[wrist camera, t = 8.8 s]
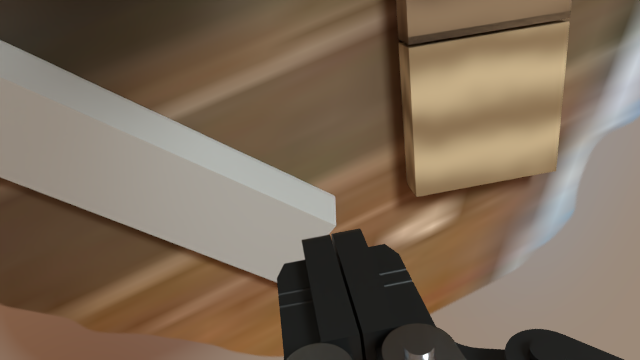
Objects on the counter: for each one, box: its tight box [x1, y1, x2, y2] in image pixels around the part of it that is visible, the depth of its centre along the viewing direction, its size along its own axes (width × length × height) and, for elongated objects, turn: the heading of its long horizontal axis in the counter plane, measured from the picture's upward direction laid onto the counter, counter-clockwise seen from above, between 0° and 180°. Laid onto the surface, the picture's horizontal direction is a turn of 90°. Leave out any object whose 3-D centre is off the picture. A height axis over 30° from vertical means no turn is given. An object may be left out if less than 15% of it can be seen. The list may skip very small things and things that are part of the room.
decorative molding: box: [0, 40, 336, 282], centre depth 43 cm, size 34×5×10 cm
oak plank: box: [399, 20, 570, 197], centre depth 44 cm, size 14×14×3 cm
